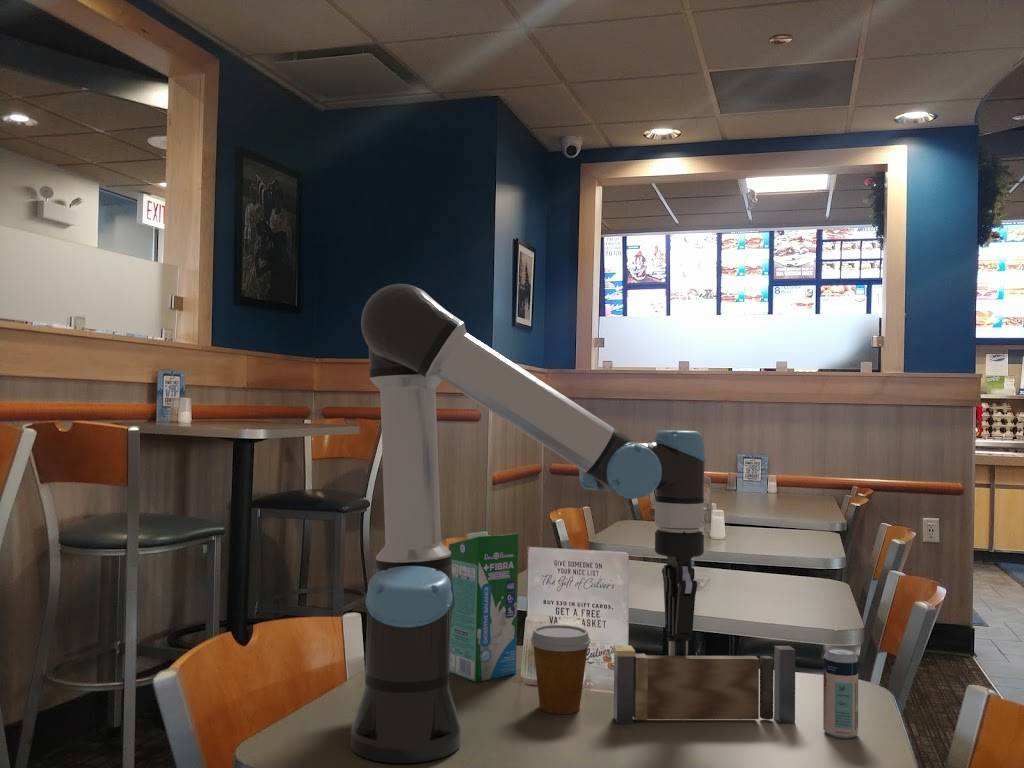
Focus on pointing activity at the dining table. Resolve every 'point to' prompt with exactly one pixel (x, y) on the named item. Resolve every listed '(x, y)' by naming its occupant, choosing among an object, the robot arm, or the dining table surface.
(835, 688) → the supplement bottle
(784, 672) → the hinge post
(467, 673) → the milk carton
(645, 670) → the garden gate
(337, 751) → the dining table surface
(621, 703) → the post
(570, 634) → the disposable coffee cup
